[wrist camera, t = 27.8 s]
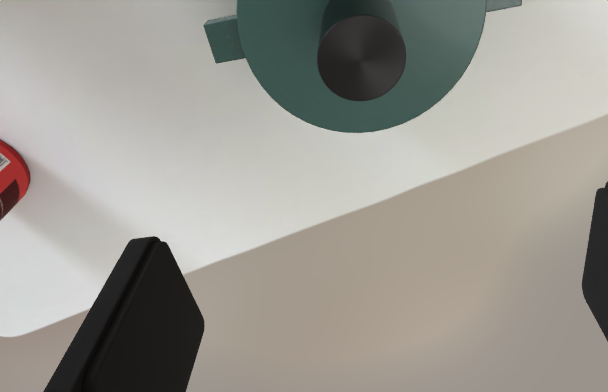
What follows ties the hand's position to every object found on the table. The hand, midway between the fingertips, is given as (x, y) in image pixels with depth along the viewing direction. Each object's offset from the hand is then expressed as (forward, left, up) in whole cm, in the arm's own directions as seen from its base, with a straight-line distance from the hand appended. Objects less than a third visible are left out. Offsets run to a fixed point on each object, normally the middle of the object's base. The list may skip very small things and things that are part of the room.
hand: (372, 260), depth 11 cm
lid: (0, 0, -20) cm, 20 cm away
